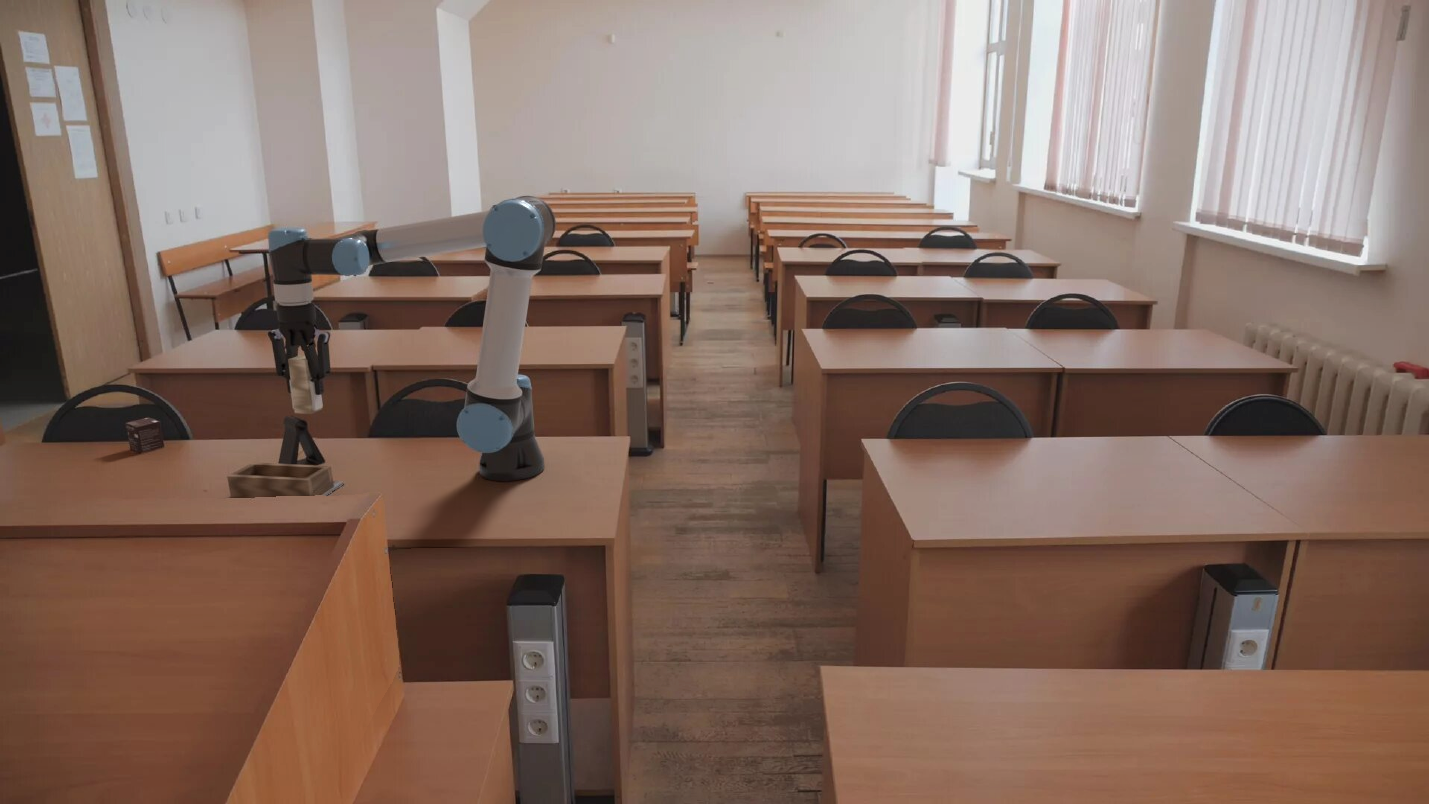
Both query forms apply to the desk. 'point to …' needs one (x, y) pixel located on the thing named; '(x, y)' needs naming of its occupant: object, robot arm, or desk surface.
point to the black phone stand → (290, 446)
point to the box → (144, 435)
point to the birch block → (301, 385)
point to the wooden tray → (281, 480)
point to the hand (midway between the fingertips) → (307, 407)
